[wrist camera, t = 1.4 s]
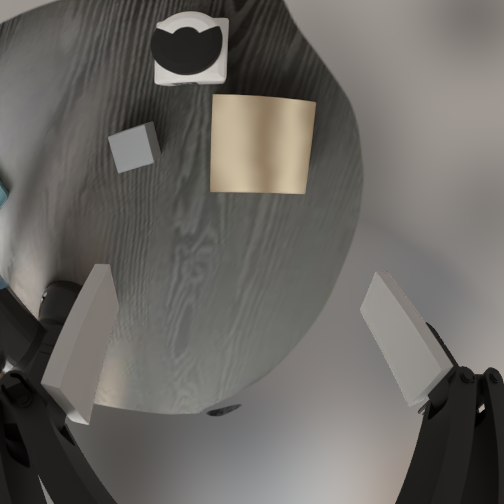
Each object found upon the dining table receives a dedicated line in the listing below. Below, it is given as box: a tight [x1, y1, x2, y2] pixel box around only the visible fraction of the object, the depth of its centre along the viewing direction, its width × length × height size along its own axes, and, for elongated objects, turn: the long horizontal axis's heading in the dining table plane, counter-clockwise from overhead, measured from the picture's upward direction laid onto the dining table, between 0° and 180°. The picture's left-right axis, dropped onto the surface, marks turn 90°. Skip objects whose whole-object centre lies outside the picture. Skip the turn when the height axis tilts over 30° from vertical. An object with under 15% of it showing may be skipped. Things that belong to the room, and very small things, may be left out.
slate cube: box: [108, 121, 161, 173], centre depth 32 cm, size 5×5×5 cm
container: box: [151, 11, 229, 86], centre depth 24 cm, size 8×8×13 cm
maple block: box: [210, 94, 316, 194], centre depth 34 cm, size 12×12×6 cm
